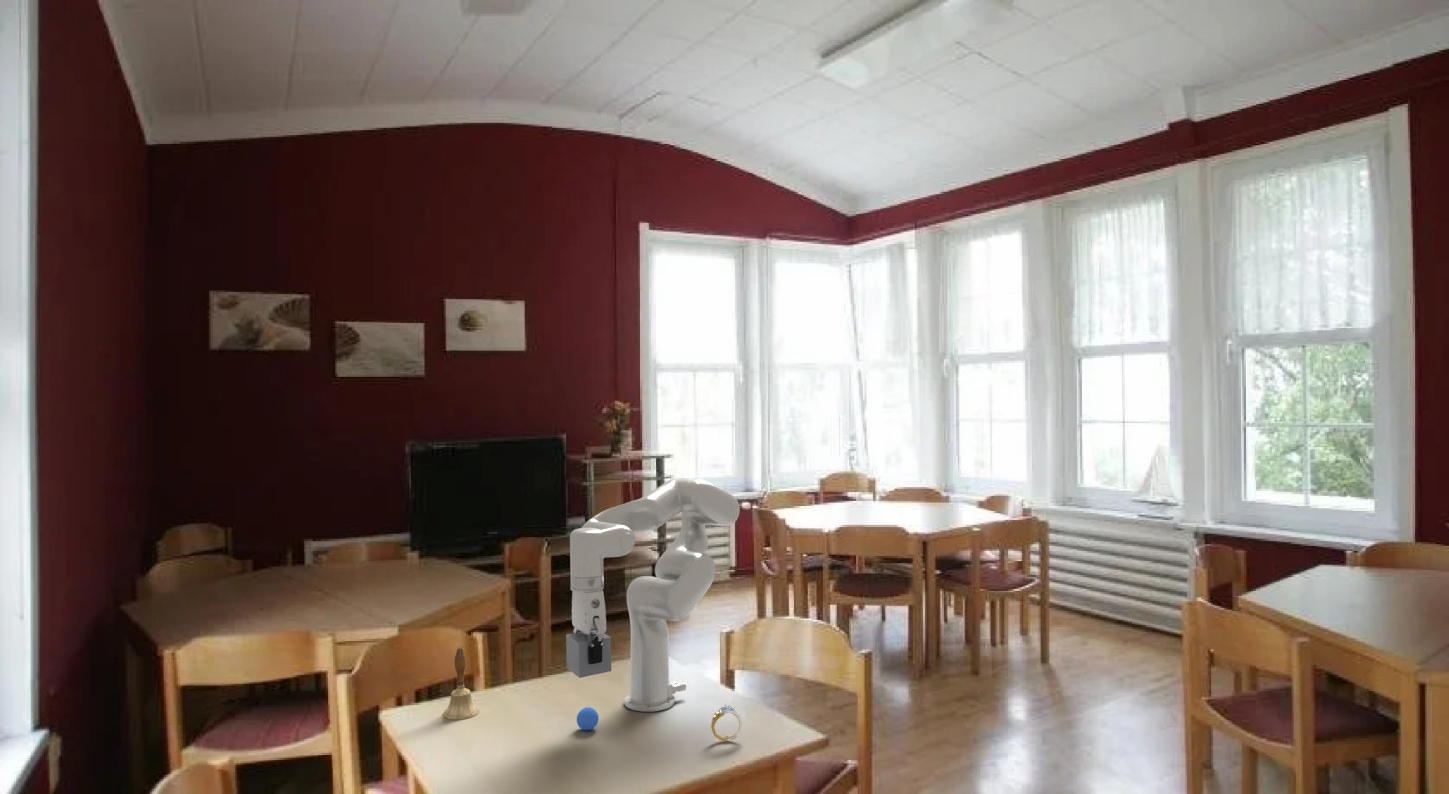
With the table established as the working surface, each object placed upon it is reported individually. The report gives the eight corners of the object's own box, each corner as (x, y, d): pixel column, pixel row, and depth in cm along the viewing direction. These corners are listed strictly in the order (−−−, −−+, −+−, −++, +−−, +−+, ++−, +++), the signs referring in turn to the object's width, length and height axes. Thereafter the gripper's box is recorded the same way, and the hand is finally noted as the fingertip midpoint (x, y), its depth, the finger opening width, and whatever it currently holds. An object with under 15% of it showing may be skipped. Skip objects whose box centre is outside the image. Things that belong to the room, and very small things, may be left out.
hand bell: (468, 721, 203) (468, 654, 203) (436, 718, 205) (436, 652, 204) (484, 708, 211) (484, 644, 211) (453, 706, 213) (453, 642, 213)
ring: (742, 738, 193) (742, 703, 193) (742, 744, 190) (742, 708, 190) (711, 739, 193) (711, 703, 193) (711, 744, 190) (711, 708, 190)
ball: (589, 700, 201) (570, 711, 198) (598, 707, 197) (578, 718, 194) (595, 719, 202) (577, 730, 199) (604, 726, 198) (585, 737, 195)
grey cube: (597, 661, 203) (597, 629, 203) (611, 671, 197) (610, 637, 197) (566, 667, 199) (566, 634, 199) (579, 677, 193) (578, 643, 192)
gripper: (617, 587, 192) (618, 665, 192) (587, 573, 207) (588, 645, 207) (586, 592, 188) (587, 671, 189) (558, 577, 203) (558, 650, 203)
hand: (587, 657), depth 198 cm, fingers closed on grey cube, 8 cm apart
